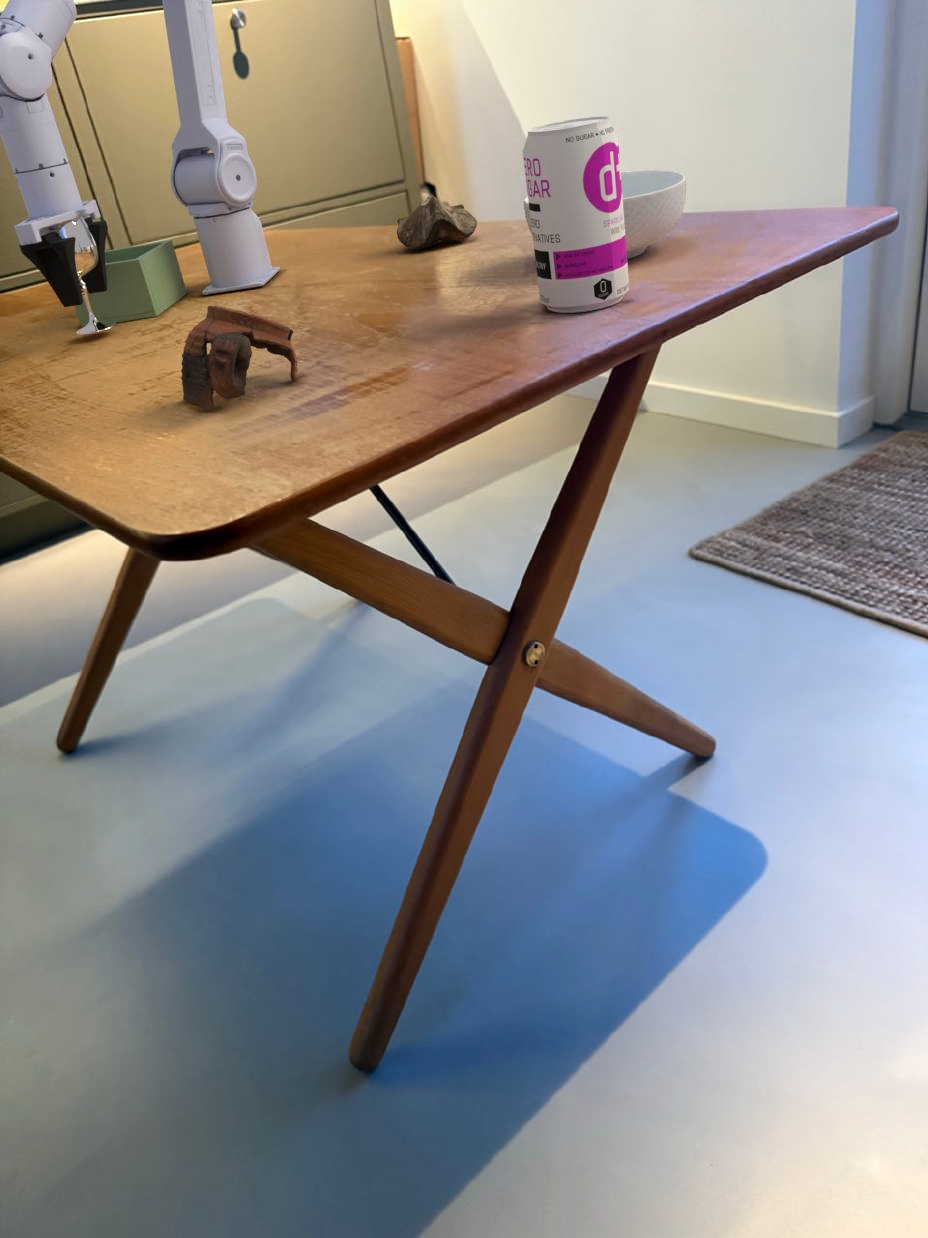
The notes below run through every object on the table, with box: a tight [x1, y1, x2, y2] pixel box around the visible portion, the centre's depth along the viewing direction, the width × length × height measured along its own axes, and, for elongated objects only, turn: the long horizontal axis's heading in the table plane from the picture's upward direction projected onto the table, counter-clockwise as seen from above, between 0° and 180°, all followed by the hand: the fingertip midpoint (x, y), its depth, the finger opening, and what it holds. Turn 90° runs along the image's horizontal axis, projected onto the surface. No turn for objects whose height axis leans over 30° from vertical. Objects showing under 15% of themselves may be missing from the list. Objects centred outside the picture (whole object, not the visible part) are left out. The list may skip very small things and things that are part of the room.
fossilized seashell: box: [396, 194, 478, 250], centre depth 129 cm, size 8×7×10 cm
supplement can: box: [522, 115, 630, 314], centre depth 89 cm, size 8×8×15 cm
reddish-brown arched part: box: [180, 305, 299, 411], centre depth 83 cm, size 12×10×8 cm
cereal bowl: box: [523, 169, 687, 260], centre depth 107 cm, size 17×17×7 cm
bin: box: [74, 239, 188, 328], centre depth 123 cm, size 12×10×7 cm
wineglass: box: [50, 217, 117, 336], centre depth 111 cm, size 6×6×12 cm
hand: (86, 298), depth 113 cm, fingers closed on wineglass, 5 cm apart
